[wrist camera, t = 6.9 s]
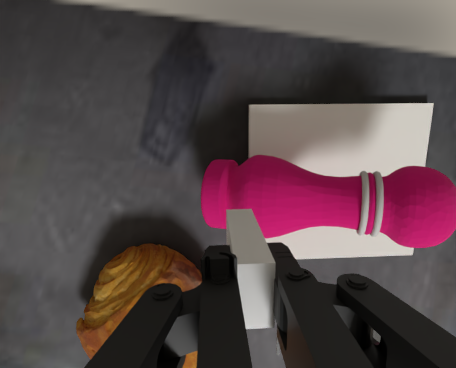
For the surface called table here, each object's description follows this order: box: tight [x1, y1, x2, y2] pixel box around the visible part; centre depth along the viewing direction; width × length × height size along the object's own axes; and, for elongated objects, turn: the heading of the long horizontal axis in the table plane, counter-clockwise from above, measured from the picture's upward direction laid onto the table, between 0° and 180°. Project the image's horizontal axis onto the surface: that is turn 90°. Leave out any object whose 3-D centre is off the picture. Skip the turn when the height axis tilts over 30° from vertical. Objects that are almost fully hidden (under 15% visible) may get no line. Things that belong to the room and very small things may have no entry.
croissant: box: [76, 243, 202, 368], centre depth 29 cm, size 14×16×8 cm
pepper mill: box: [201, 155, 456, 248], centre depth 23 cm, size 7×7×20 cm
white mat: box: [248, 103, 434, 259], centre depth 29 cm, size 18×16×1 cm
